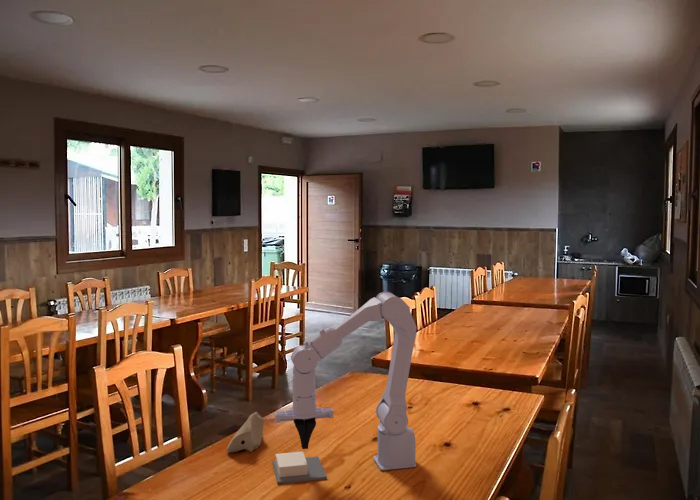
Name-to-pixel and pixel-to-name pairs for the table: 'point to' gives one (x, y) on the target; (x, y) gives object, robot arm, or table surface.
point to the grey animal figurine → (248, 435)
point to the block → (291, 464)
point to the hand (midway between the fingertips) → (304, 447)
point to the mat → (313, 474)
